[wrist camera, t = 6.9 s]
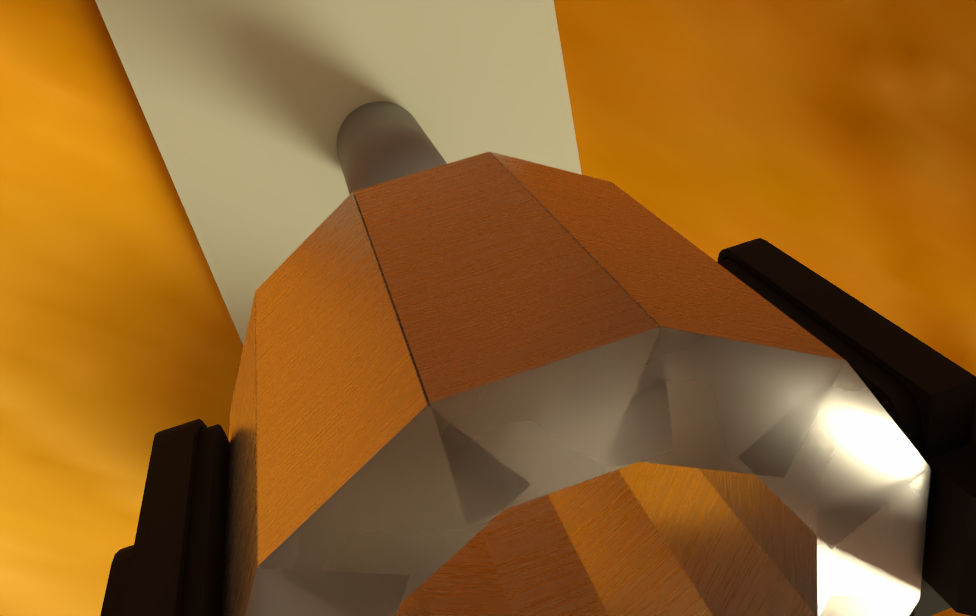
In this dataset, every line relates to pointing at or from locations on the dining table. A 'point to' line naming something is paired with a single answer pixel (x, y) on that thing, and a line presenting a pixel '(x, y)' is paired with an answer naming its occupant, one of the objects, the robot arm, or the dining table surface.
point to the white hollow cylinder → (549, 422)
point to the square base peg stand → (330, 107)
